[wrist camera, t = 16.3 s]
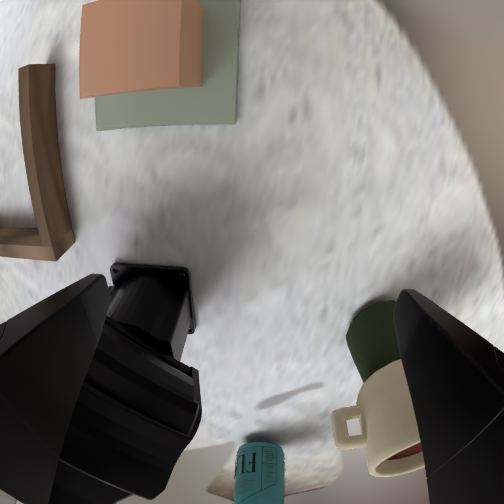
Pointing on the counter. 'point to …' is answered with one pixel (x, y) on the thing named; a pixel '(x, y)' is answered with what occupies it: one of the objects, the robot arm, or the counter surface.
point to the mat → (187, 99)
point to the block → (140, 46)
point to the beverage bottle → (259, 474)
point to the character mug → (380, 398)
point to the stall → (40, 172)
